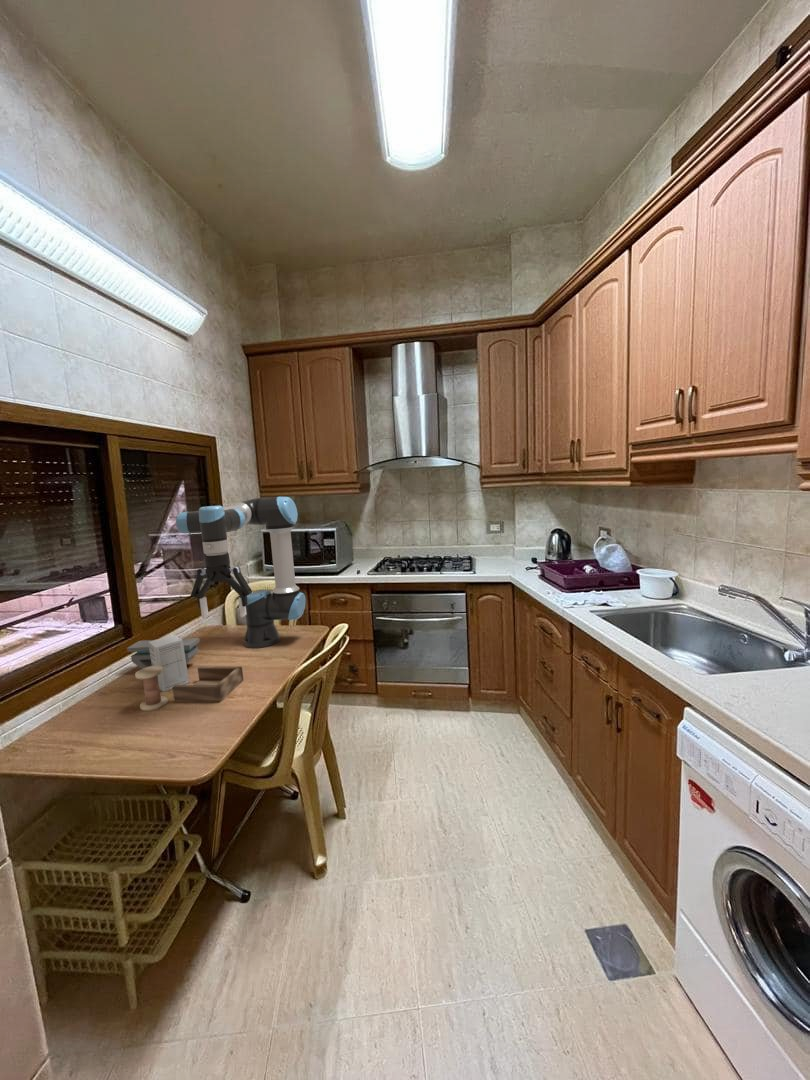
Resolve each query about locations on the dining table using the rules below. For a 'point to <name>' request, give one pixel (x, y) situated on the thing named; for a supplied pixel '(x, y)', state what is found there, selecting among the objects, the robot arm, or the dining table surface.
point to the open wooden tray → (210, 685)
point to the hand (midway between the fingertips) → (224, 616)
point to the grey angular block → (143, 653)
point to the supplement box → (169, 661)
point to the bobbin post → (151, 688)
